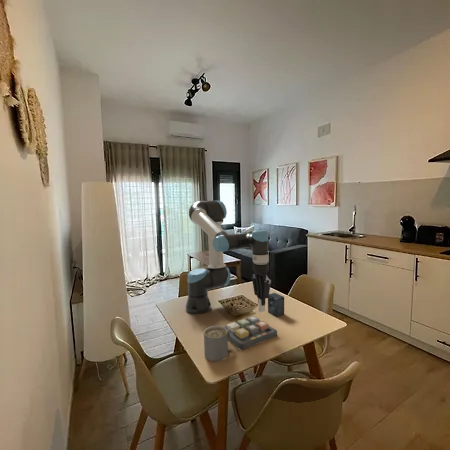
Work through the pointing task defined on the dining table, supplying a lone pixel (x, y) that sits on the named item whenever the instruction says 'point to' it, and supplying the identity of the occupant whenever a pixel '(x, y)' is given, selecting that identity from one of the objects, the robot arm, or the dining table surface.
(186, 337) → the dining table surface
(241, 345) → the keypad board
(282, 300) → the box
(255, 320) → the key slate
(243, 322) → the key sage
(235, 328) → the key cream
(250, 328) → the key charcoal
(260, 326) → the key terracotta
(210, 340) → the coffee mug
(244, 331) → the key ochre
